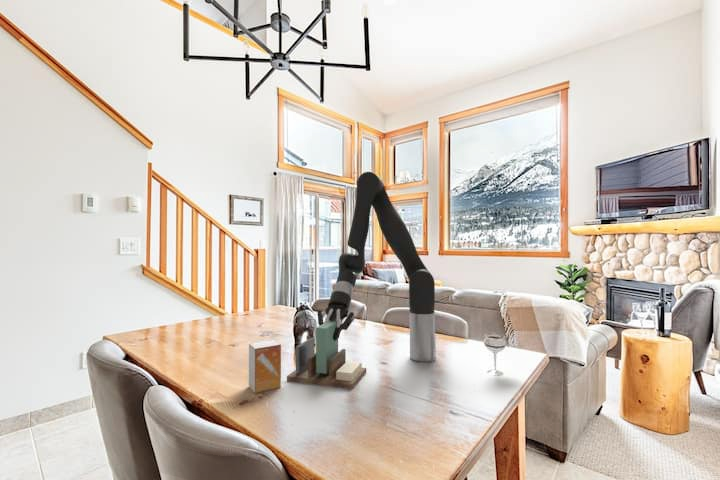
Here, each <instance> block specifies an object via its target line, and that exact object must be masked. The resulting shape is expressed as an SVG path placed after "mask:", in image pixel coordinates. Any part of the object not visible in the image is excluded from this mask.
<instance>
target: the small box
mask: <svg viewBox="0 0 720 480" xmlns="http://www.w3.org/2000/svg"><path fill="white" fill-rule="evenodd" d="M281 351H282V344H281V343H280V342H278V341H277V340H275V339H272V340H265V341H258V342H253V343H248V387H249V389H250V390H251V392H253V393H254V394H257V393H261V392H264V391H269V390H270V391H271V390H274V389H278V388H279V389H280V388H281V386H282V385H281V384H282V352H281Z"/></svg>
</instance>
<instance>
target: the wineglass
mask: <svg viewBox="0 0 720 480" xmlns="http://www.w3.org/2000/svg"><path fill="white" fill-rule="evenodd" d="M483 336H484V340H483V344H484V347H486V349H487V350H488V351H490V352H492V353H493V361H494V366H493V367H494V369H489V370H487V372H486V373H488V374H489V375H493V376H503V375H504V372H502V371H500V370H497V354H498V353H500V352H502V351H503V350H504V349H505V348H506V347H507V346H506V345H507V341H506V340H505V339H506V336H505V335H504V334H499V333H485V334H484V335H483Z"/></svg>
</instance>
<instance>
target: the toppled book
mask: <svg viewBox="0 0 720 480" xmlns="http://www.w3.org/2000/svg"><path fill="white" fill-rule="evenodd" d="M362 365H363V363H362V362H361V361H351V360H347V361H346V363H345V364H344V365H343V366H342V367H341V368H339V369H338V370H337V371H336V379H337V380H346V381H352V380H353V379H354V378H355V377H356V376H357V375H358V373H359V372H360V371H361V370H362V368H363V367H362Z"/></svg>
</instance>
